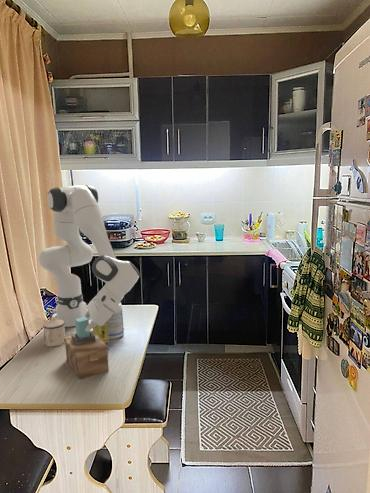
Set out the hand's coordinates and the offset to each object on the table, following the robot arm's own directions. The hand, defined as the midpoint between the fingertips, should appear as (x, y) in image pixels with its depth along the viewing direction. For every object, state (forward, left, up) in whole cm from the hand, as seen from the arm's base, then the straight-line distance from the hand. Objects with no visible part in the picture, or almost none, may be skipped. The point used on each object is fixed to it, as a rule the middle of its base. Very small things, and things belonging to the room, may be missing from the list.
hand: (84, 326), depth 159 cm
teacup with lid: (-26, -7, -15) cm, 31 cm away
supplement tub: (-20, +18, -15) cm, 31 cm away
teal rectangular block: (0, -1, -6) cm, 6 cm away
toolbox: (+2, -1, -15) cm, 15 cm away
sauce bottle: (-13, +10, -15) cm, 23 cm away
